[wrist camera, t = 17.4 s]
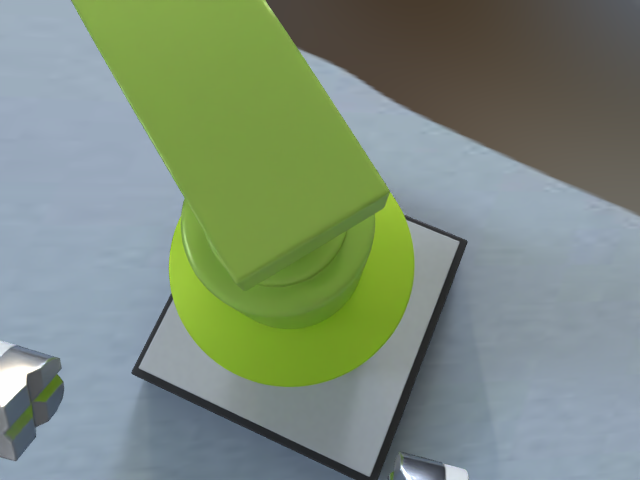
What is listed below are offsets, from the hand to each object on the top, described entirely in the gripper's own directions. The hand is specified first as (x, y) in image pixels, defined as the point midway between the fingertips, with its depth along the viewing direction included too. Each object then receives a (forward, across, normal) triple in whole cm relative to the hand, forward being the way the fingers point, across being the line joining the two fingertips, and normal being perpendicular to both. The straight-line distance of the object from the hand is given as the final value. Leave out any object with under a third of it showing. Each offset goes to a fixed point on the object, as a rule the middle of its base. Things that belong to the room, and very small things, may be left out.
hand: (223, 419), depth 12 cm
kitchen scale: (+14, 0, +8) cm, 16 cm away
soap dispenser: (+12, 0, +6) cm, 13 cm away
